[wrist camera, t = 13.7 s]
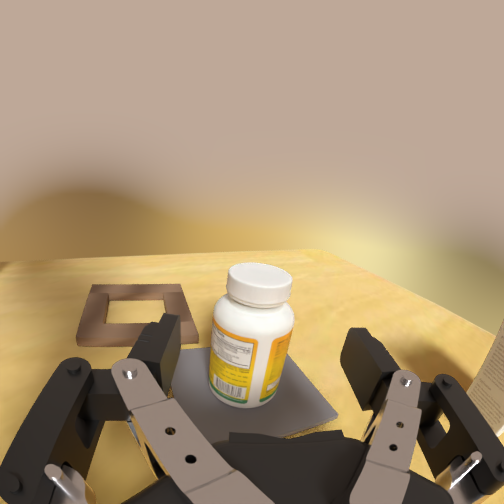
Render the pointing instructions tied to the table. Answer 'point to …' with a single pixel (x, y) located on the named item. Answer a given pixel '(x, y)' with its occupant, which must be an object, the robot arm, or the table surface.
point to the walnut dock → (113, 335)
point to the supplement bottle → (250, 335)
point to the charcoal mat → (247, 419)
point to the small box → (491, 386)
